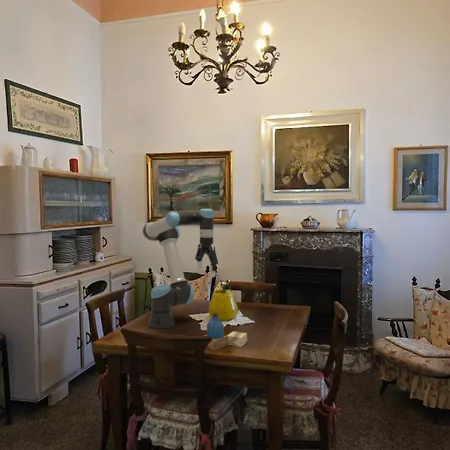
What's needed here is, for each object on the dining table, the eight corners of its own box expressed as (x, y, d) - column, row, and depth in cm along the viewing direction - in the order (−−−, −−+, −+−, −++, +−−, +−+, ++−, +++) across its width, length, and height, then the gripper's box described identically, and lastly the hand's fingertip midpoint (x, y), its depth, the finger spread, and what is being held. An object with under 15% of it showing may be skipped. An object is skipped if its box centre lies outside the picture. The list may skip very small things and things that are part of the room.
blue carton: (213, 339, 217) (213, 316, 216) (207, 336, 222) (206, 313, 221) (223, 337, 220) (223, 314, 219) (217, 334, 225) (217, 311, 224)
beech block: (226, 345, 222) (226, 335, 222) (233, 340, 230) (233, 331, 229) (240, 347, 219) (240, 337, 219) (246, 342, 226) (247, 333, 226)
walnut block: (200, 346, 221) (200, 336, 221) (214, 341, 228) (214, 332, 228) (214, 351, 214) (214, 341, 214) (228, 345, 221) (228, 336, 221)
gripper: (189, 235, 246) (189, 271, 247) (213, 239, 225) (212, 279, 227) (200, 234, 250) (200, 270, 252) (224, 238, 229) (224, 277, 231)
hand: (206, 274), depth 239 cm, fingers open, 13 cm apart
